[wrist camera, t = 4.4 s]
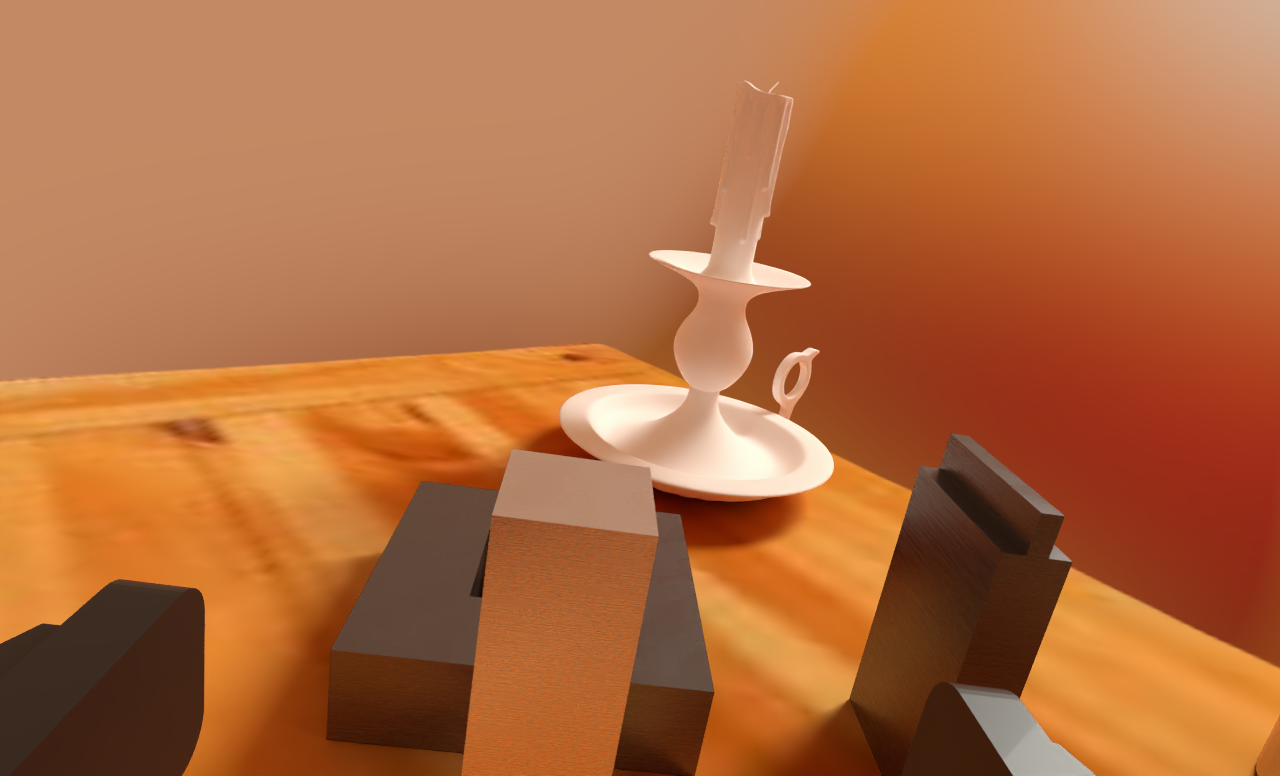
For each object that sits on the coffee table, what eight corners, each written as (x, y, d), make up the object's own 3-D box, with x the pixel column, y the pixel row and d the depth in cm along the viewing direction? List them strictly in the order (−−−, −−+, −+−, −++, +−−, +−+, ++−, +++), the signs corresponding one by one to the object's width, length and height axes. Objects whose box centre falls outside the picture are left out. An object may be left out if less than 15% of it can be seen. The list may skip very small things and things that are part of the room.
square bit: (466, 823, 26) (512, 448, 22) (582, 834, 26) (649, 467, 22) (441, 940, 22) (491, 514, 18) (577, 951, 23) (658, 536, 18)
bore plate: (416, 546, 42) (421, 480, 40) (667, 577, 43) (680, 514, 42) (326, 739, 28) (330, 649, 27) (694, 776, 30) (714, 692, 28)
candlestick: (899, 487, 62) (1006, 126, 53) (702, 572, 44) (816, 55, 36) (707, 400, 75) (769, 100, 66) (497, 439, 57) (545, 38, 49)
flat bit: (849, 698, 36) (930, 430, 31) (900, 704, 36) (988, 438, 32) (904, 827, 29) (1017, 509, 25) (967, 833, 29) (1089, 519, 25)
